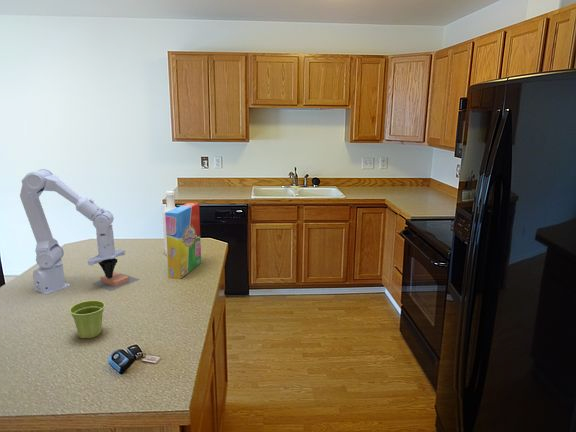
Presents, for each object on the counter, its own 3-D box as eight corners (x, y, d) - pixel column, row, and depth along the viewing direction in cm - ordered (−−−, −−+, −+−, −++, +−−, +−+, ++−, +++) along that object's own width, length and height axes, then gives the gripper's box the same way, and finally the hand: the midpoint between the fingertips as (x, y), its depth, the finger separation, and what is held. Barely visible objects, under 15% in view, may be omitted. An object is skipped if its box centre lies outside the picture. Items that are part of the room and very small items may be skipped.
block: (115, 282, 151) (128, 276, 156) (100, 277, 156) (114, 272, 161) (115, 286, 152) (129, 281, 157) (101, 281, 156) (114, 276, 161)
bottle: (164, 251, 193) (160, 190, 186) (181, 250, 196) (178, 189, 188) (165, 257, 186) (161, 193, 179) (182, 255, 188) (179, 192, 181)
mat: (110, 291, 148) (110, 290, 148) (91, 284, 154) (91, 283, 154) (139, 280, 159) (139, 279, 159) (120, 273, 165) (120, 273, 165)
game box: (180, 279, 160) (177, 213, 154) (168, 278, 161) (163, 212, 155) (201, 262, 180) (199, 202, 174) (190, 261, 181) (187, 202, 175)
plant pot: (98, 322, 126) (95, 297, 124) (113, 332, 120) (110, 306, 118) (67, 334, 119) (63, 307, 117) (81, 345, 113) (78, 317, 111)
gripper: (94, 250, 143) (98, 286, 146) (129, 240, 155) (132, 273, 158) (82, 247, 146) (86, 282, 149) (117, 237, 158) (120, 270, 161)
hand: (109, 277), depth 154 cm, fingers closed
